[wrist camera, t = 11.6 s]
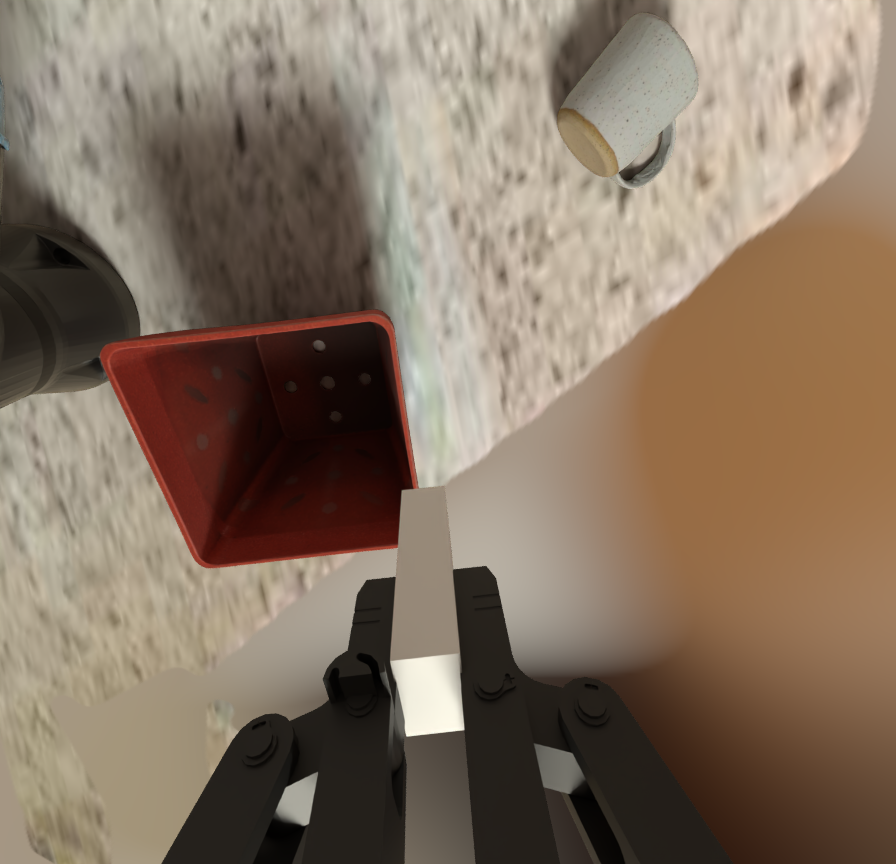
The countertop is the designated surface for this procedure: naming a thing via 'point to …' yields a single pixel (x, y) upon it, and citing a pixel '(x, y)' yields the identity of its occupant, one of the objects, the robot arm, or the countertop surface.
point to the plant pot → (272, 434)
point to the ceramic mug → (630, 100)
